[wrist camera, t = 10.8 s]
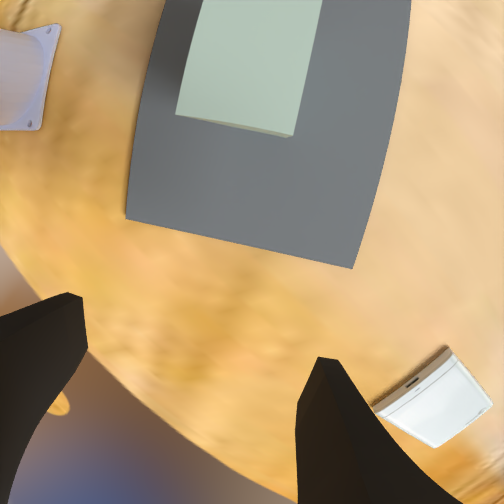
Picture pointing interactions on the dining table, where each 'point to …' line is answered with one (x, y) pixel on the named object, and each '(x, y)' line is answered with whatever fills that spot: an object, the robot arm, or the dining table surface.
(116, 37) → the dining table surface
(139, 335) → the dining table surface
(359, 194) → the slate mat
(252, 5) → the tall pastel pillar
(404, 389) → the hard drive
